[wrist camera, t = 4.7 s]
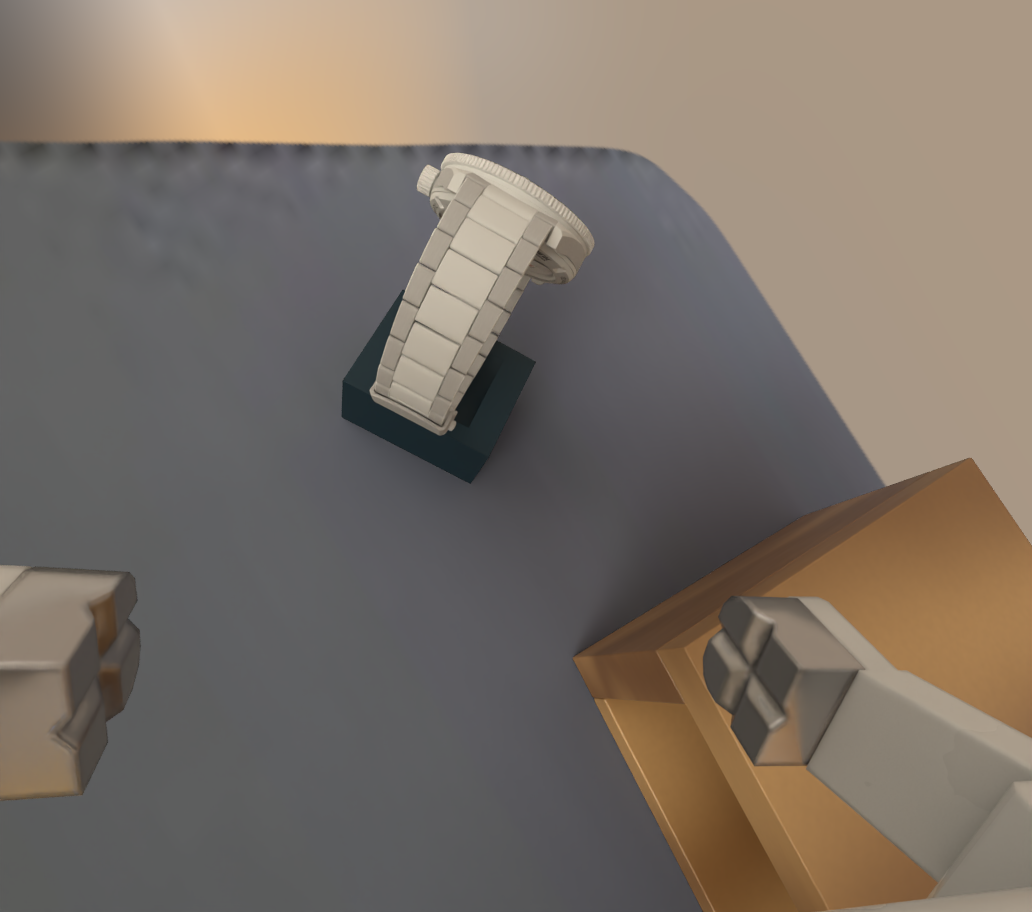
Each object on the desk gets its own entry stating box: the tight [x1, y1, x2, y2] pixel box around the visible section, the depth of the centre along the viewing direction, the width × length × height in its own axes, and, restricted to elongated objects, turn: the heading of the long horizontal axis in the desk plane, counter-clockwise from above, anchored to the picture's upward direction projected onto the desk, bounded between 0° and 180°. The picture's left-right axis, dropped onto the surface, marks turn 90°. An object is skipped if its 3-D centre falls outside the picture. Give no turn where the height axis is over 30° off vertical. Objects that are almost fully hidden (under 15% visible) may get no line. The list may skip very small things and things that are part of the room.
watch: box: [342, 153, 594, 483], centre depth 19 cm, size 6×8×11 cm
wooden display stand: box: [573, 458, 1032, 912], centre depth 20 cm, size 18×13×8 cm
